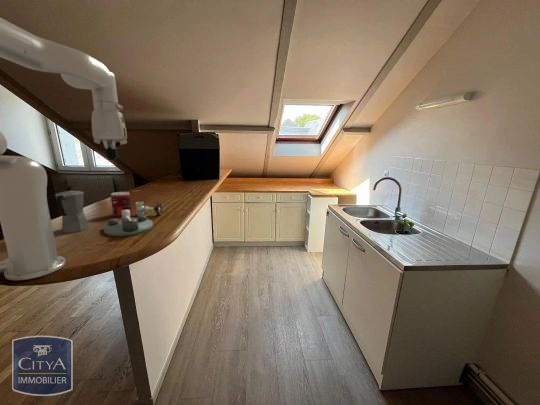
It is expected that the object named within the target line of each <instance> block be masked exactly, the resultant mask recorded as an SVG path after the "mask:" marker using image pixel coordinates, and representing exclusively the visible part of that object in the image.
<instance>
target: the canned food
mask: <svg viewBox="0 0 540 405" xmlns="http://www.w3.org/2000/svg"><path fill="white" fill-rule="evenodd" d="M110 201H111V206H112V213H113V217H116V218H118V217H119V218H122V210H130V216H131V215H132V202H131V195H130V192H129V191H117V192H112V193H110Z"/></svg>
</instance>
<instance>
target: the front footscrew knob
mask: <svg viewBox="0 0 540 405" xmlns="http://www.w3.org/2000/svg"><path fill="white" fill-rule="evenodd" d="M121 218H122V219H121V220H120V221H121V222H122V230H123V231H124V232H131V231H135V230H138V229H139V227H138V218H137V217H131V215H130V210H122V217H121Z"/></svg>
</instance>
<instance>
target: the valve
mask: <svg viewBox="0 0 540 405" xmlns="http://www.w3.org/2000/svg"><path fill="white" fill-rule="evenodd" d="M156 204H157V205H155V206H154V207H151V206H150V207H149V206H148V205H144V201H136V202H135V208H134V211H135V212H136V216H139V215H145V213H148V212H149V211H151V212H153V211H154V212H155V213H156V216H162V213H163V208H164V207H163V206H162V203H161V202H157V203H156Z"/></svg>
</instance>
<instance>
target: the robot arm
mask: <svg viewBox="0 0 540 405" xmlns="http://www.w3.org/2000/svg"><path fill="white" fill-rule="evenodd" d="M0 58H2V59H4V60H7V61H10V62H12V63H15V64H17V65H20V66H22V67H24V68H28V69H30V70H34V71H39V72H44V73H53V74H60V76H61V79H62V80H63V81H64V83H66V84H67V85H68V86H70V87H73V88H74V89H78V90H79V89H80V90H90V91H91V93H92V103H93V104H92V105H93V110H92V113H91V132H92V137H93V143H95V144H98V145H99V144H100V145H101V146H103V147H104V149H106V157H107V158H108V160H109V161H111V160H112V161H113V160H118V149H119V147H120V146H121V145H126V144H127V143H128V141H127V139H128V135H127V128H126V124H125V123H126V122H125V119H124V116H123V113H122V112H120V110H124V107H123V105H121V104H120V103H119V99H118V92H117V82H116V76H115V74H114V72H112V71H110V70H109V69H108V68H107V66H106V65H105V64H104V63H103V62H101V61H99V59H97V58H95V57H93V56H92V55H89V54H87V53H85V52H83V51H81V50H79V49H76V48H73V47H69V46H67V45H64V44H60V43H57V42H56V41H52V40H49V39H46V38H42V37H39V36H37V35H35V34H33V33H31V32H29V31H27V30H25V29H23V28H21V27H19V26H17V25H16V24H13V23H12V22H10V21H8V20H6V19H4V18H2V17H0ZM7 149H8V141H7V139H6V137H5V135H4V134H3V132H2V131H0V226H1V230H2V234H3V239H4V242H5V246H6V249H7V250H6V251H7V255H8V258H5V259H4V260H0V271H3V270H4V274H3V275H4V277H5V278H6V280H10V281H25V280H32V279H35V278H40V277H44V276H47V275H49V274H52V273H55V272H56V271H58V270H60V269H62V268H63V267H64V266H65V265H66V263H67V262H66V258H65V257H64V256H62V255H58V250H57V245H56V241H55V235H54V231H53V224H52V221H51V220H52V219H51V215H50V209H49V204H48V197H47V196H48V195H47V194H48V191H47V187H48V174H47V171H46V169H45V168H44V166H43V165H42V164H40V163H39V162H38V161H36V160H34V159H32V158H30V157H26V156H21V155H3V154H4V153H5V152H6V151H7Z"/></svg>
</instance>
